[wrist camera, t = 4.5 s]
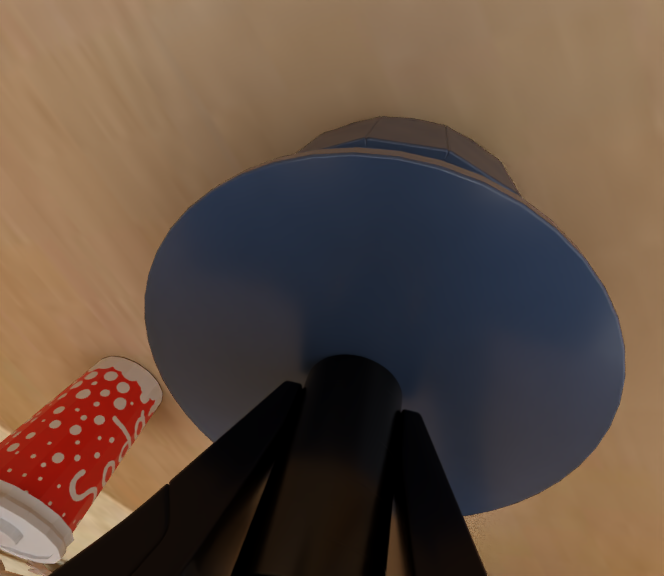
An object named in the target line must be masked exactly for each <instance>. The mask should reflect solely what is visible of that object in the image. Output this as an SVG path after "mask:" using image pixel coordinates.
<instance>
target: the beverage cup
mask: <svg viewBox="0 0 664 576" xmlns="http://www.w3.org/2000/svg"><path fill="white" fill-rule="evenodd" d="M161 401H162V391H161V388H160V386H159V384H158V382H157V381H156V380H155V378H154V377H153V376H152V375H151V374H150V373H149V372H148V371H147V370H145V369H144V368H143V367H141V366H140V365H138V364H137V363H135V362H132V361H130V360H127V359H125V358H121V357H112V356H110V357H107V358H104V359H101V360H100V361H99V362H98V363H96V364H95V365H94V366H93V367H92V368H90V369H89V370H88V371H87V372H86V373H84V374H83V375H82V376H81V377H80V378H78V379H77V380H76V381H75V382H73V383H72V384H71V385H70V386H69V387H67V388H66V389H65V390H64V391H63V392H61V393H60V394H59V395H58V396H57V397H55V398H54V399H53V400H52V401H50V402H49V403H48V404H47V405H46V406H44V407H43V408H42V409H41V410H40V411H38V412H37V413H36V414H35V415H34V416H32V417H31V418H30V419H29V420H27V421H26V422H25V423H24V424H23V425H21V426H20V427H19V428H18V429H17V430H15V431H14V432H13V433H12V434H11V435H9V436H8V437H7V438H6V439H4V440H3V441H2V442H1V443H0V549H1V550H4V551H6V552H8V553H11V554H13V555H16V556H18V557H20V558H23V559H27V560H31V561H34V562H38V563H49V564H55V563H56V562H57V561H59V560H60V559H61V558H62V557H63V555H64V554H65V553H66V547H67V546H68V545H69V544H70V543H71V542H72V541H73V540H74V539H73V534H72V533H73V531H74V530H75V528H76V527H77V525H78V524H79V523H80V521H81V520H82V518H83V517H84V515H85V514H86V512H87V511H88V509H89V508H90V506H91V505H92V503H93V502H94V500H95V499H96V497H97V496H98V494H99V493H100V491H101V490H102V488H103V487H104V486H105V484H106V483H107V481H108V480H109V478H110V477H111V475H112V474H113V472H114V471H115V469H116V468H117V466H118V465H119V463H120V462H121V460H122V459H123V457H124V456H125V454H126V453H127V451H128V450H129V449H130V447H131V446H132V444H133V443H134V441H135V440H136V438H137V437H138V435H139V434H140V432H141V431H142V429H143V428H144V426H145V425H146V423H147V422H148V420H149V419H150V417H151V416H152V414H153V413H154V412H155V410H156V409H157V407H158V406H159V404H160V403H161Z"/></svg>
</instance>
